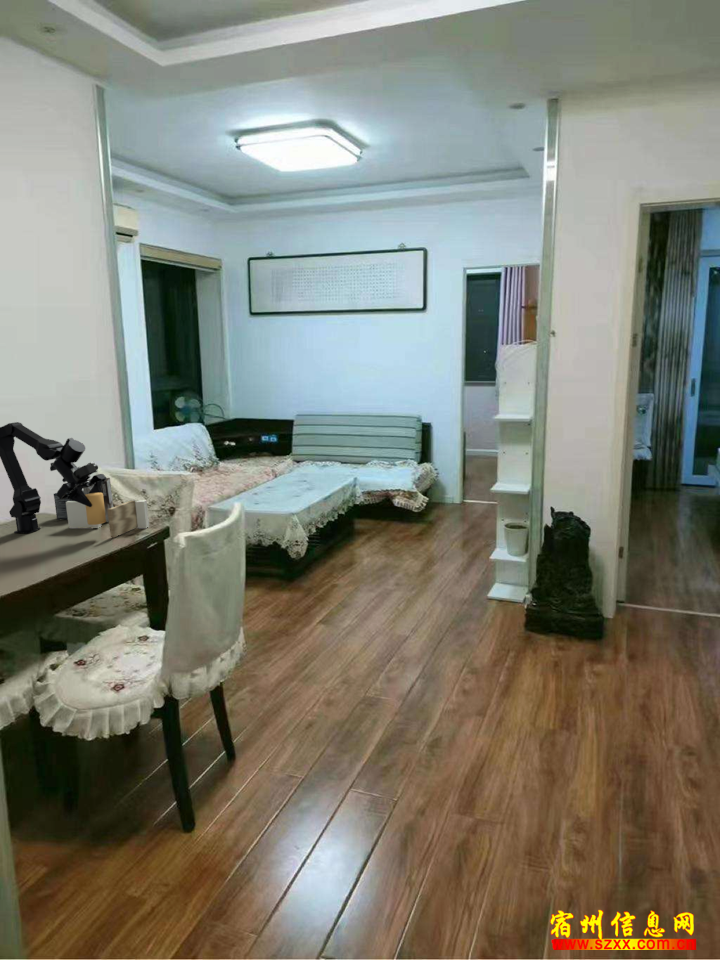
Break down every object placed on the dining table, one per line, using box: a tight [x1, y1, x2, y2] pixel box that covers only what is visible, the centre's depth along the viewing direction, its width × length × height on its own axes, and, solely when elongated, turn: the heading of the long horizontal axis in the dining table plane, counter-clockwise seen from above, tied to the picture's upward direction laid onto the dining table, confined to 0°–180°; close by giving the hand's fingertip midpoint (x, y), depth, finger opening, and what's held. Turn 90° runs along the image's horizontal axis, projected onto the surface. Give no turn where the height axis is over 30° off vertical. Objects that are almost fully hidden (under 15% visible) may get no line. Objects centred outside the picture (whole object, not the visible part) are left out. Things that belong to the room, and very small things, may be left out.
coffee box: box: [82, 477, 114, 523], centre depth 255 cm, size 9×6×16 cm
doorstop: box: [85, 493, 107, 525], centre depth 231 cm, size 6×6×10 cm
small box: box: [53, 490, 84, 521], centre depth 263 cm, size 11×6×10 cm, turn 84°
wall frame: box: [66, 499, 150, 529], centre depth 246 cm, size 30×2×10 cm, turn 83°
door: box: [107, 499, 138, 538], centre depth 238 cm, size 14×2×10 cm, turn 163°
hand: (97, 504), depth 231 cm, fingers closed on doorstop, 6 cm apart
